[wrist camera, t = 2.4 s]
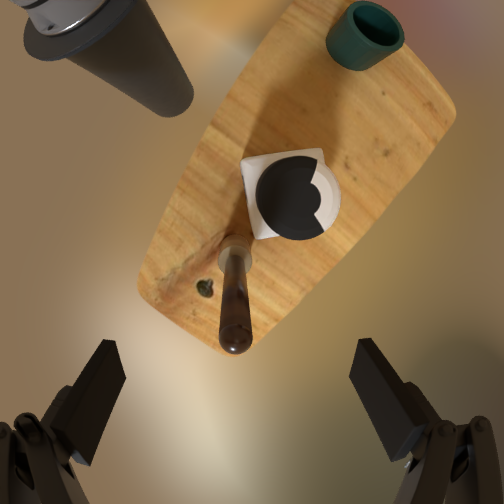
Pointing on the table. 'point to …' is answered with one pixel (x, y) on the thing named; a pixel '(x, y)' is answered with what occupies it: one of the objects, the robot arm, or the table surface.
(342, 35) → the cup
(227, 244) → the brush
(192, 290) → the table surface
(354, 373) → the robot arm
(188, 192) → the table surface
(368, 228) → the table surface
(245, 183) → the container
